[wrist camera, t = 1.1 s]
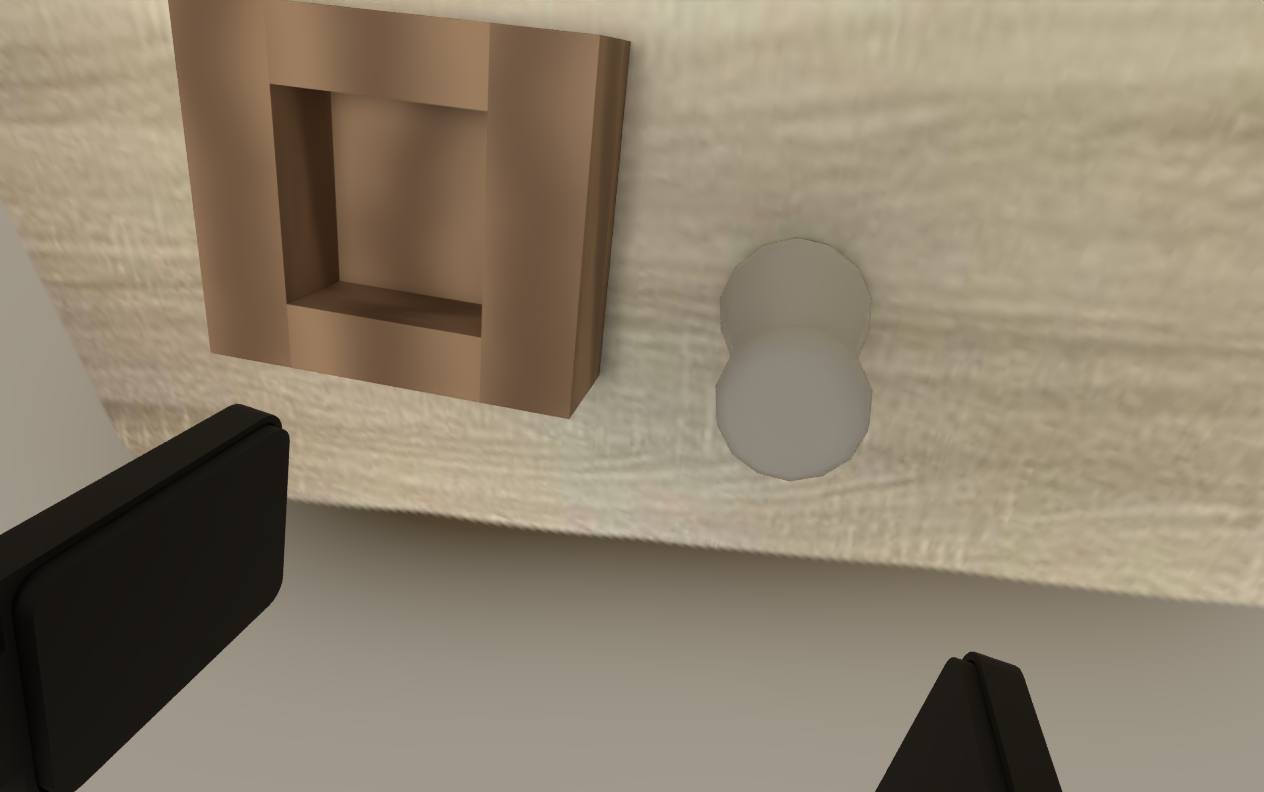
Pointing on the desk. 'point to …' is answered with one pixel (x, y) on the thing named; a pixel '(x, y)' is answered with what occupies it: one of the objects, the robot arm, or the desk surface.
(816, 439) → the grey rounded peg
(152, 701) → the robot arm
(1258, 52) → the desk surface
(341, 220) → the socket block
